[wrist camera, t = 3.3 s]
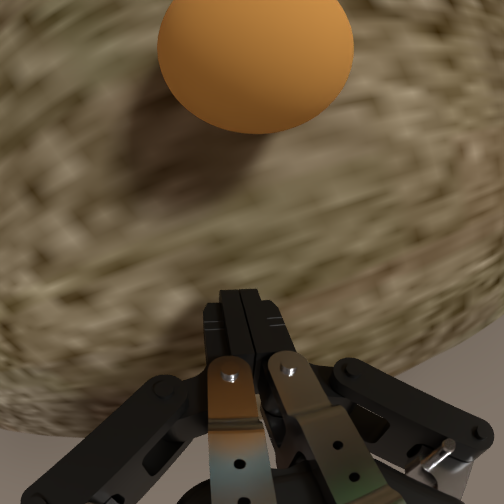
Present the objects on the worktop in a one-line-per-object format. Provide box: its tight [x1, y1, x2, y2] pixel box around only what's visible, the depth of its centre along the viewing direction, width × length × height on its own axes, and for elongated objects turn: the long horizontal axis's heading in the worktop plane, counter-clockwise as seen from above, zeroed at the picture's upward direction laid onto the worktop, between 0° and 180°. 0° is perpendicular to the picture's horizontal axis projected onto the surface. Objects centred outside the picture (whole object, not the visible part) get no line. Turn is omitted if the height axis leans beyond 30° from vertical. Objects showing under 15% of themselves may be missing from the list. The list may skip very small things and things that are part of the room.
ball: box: [157, 0, 354, 134], centre depth 7 cm, size 6×6×6 cm
